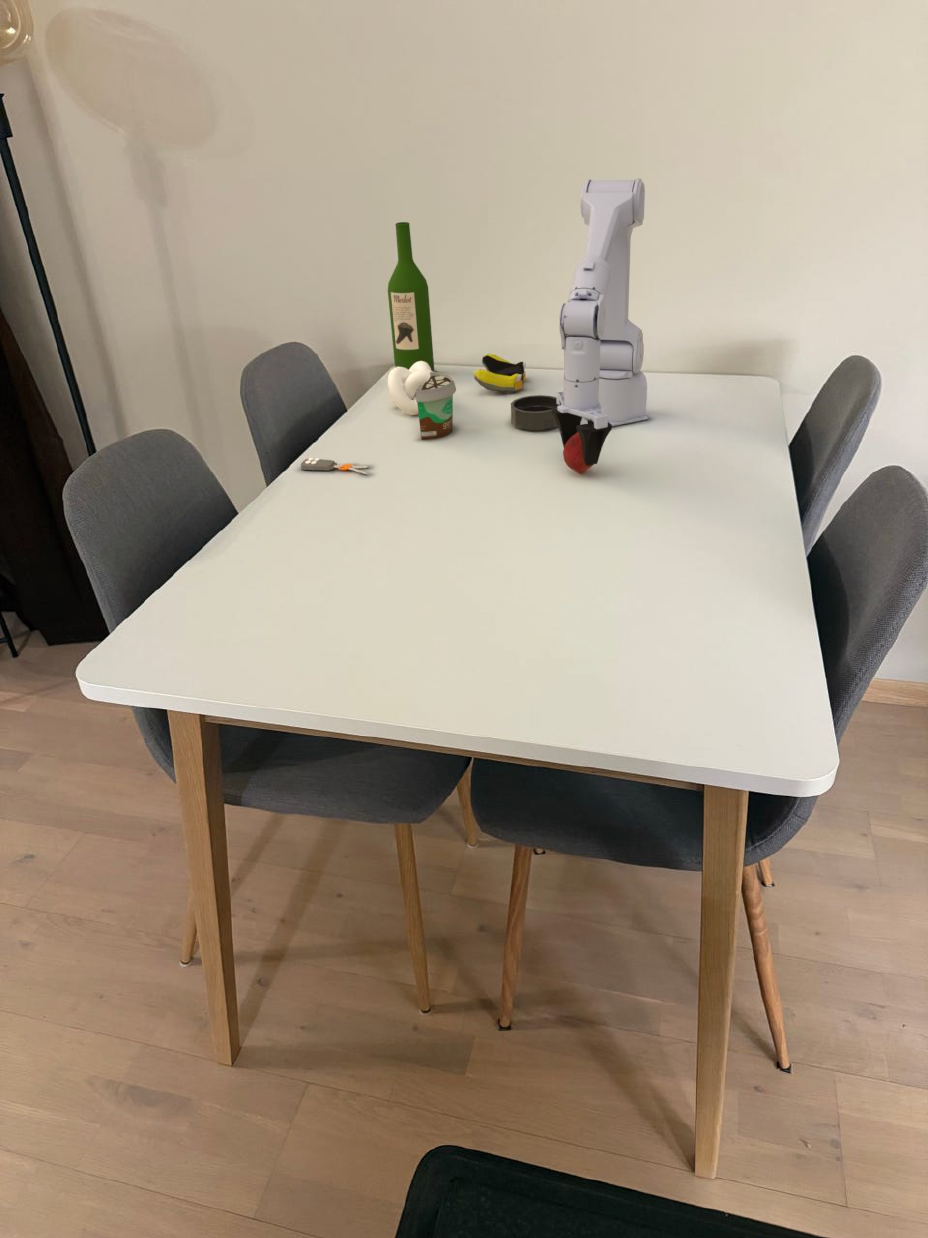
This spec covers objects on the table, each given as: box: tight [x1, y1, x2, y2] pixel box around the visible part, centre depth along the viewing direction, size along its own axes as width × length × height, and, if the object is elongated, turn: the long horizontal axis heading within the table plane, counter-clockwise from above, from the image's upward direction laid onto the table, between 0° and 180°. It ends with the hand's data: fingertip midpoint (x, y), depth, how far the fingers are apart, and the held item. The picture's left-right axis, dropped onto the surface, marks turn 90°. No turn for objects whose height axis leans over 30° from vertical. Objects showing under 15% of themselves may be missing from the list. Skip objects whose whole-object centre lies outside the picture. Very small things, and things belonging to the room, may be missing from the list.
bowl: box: [510, 394, 559, 432], centre depth 175 cm, size 10×10×4 cm
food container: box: [416, 371, 457, 441], centre depth 173 cm, size 12×6×10 cm, turn 168°
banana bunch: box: [473, 353, 527, 395], centre depth 196 cm, size 15×6×10 cm
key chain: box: [300, 457, 369, 475], centre depth 162 cm, size 13×4×2 cm, turn 75°
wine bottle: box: [387, 221, 435, 372], centre depth 199 cm, size 9×9×32 cm
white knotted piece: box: [387, 361, 433, 416], centre depth 186 cm, size 11×12×9 cm
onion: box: [562, 432, 594, 475], centre depth 152 cm, size 6×6×8 cm
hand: (580, 456), depth 153 cm, fingers open, 7 cm apart
